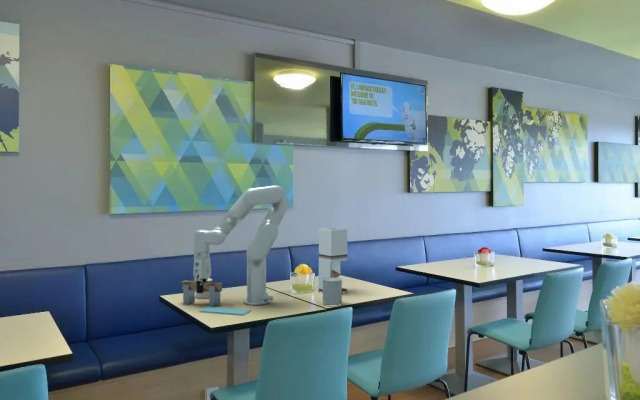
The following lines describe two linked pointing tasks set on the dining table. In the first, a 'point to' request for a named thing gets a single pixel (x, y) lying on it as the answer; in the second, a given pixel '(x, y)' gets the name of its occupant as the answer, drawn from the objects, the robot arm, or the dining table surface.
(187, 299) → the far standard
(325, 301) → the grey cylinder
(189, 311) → the dining table surface
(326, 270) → the grey tall blocky piece
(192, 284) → the rail
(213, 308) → the mat
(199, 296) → the teacup with lid
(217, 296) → the near standard
